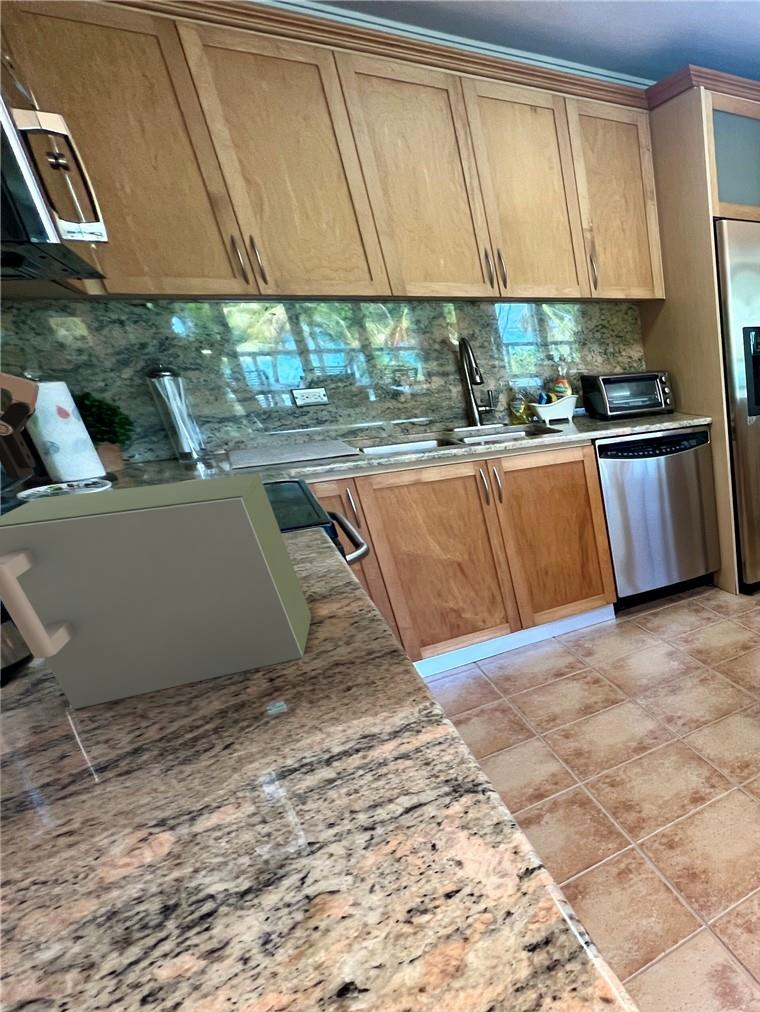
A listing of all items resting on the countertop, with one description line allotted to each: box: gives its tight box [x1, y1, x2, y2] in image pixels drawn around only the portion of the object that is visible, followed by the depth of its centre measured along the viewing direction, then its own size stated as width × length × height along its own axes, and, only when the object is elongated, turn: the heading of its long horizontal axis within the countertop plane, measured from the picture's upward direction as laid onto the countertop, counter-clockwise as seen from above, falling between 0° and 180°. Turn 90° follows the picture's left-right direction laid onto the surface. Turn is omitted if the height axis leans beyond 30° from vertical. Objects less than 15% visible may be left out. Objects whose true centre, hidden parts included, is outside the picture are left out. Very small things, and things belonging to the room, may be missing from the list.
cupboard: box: [0, 473, 312, 656], centre depth 81 cm, size 15×22×22 cm
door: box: [0, 497, 304, 710], centre depth 72 cm, size 7×22×21 cm, turn 122°
